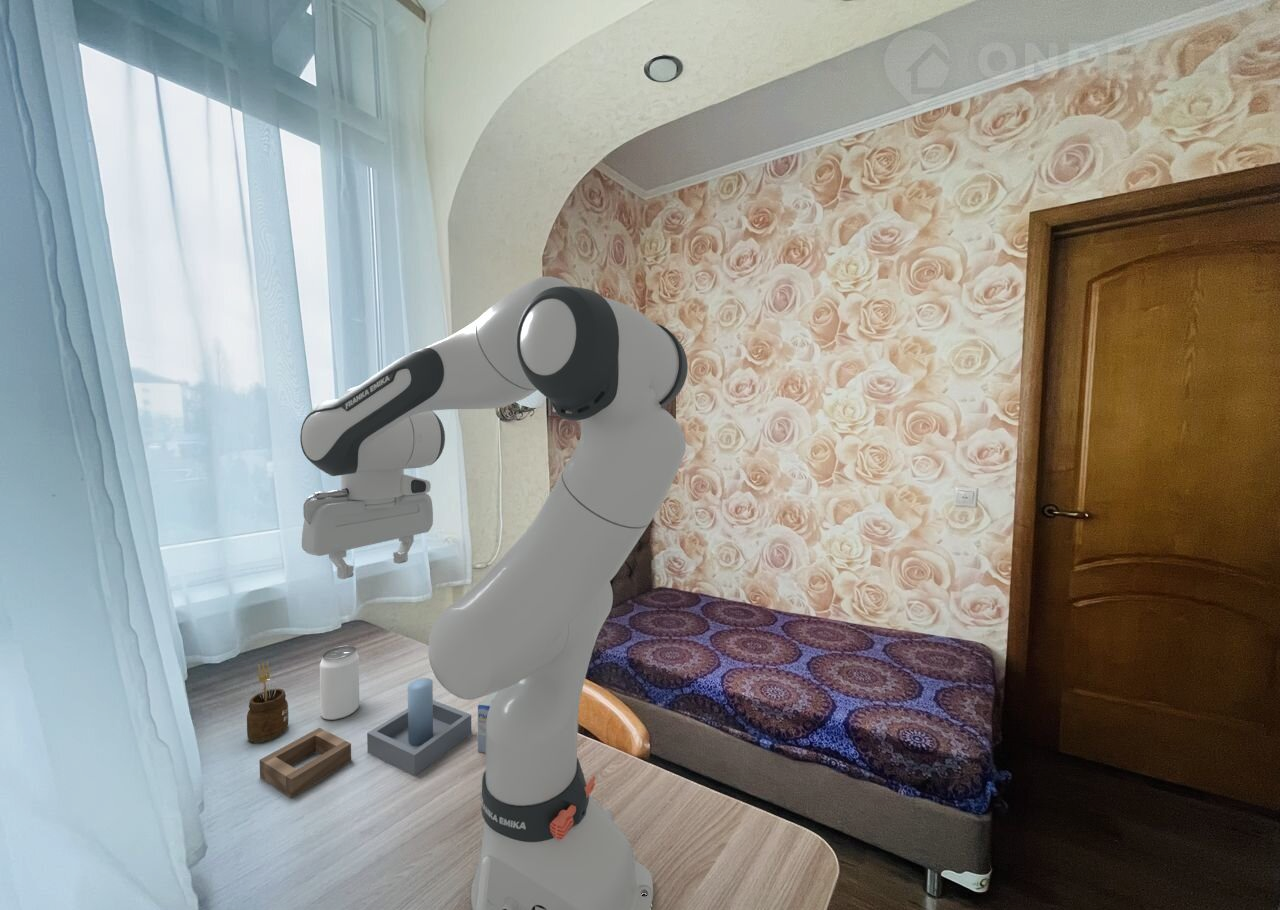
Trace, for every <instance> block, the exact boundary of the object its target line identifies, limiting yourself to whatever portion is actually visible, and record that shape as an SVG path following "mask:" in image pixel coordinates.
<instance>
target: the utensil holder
mask: <svg viewBox="0 0 1280 910" xmlns="http://www.w3.org/2000/svg"><path fill="white" fill-rule="evenodd" d="M265 663H266V667H265ZM265 663H262V664H261V665H260V664H258V665H257V670H258V674H257V675H258V682H259V683H261V685H260V687H259V689H260V692H259V693H257V694H255V695H253V696H252V697H251V698H250V699H249V703H248V708H249V709H248V711H247V715H246V736H247V739H248V741H249V742H250V743H255V744H256V743H264V742H269V741H271V740H273V739H275V738H278V737H279V736H281V735H283V734H284V733H285V732H286V730H287V729H288V728H289V727H288V726H289V703H288V701H287V699H286V698H287V697H286V691H285V690H284V689H282V688H274V687H272V688H271V686H270V684H271V683H268V682H269V681H271V682H272V684H273V686H276V683H275V682H277V680H276V679H274V678H271V677H270V676H271V675H270V667H269V666H270V665H269V662H268V661H267V662H265ZM261 666H262V667H261ZM265 668H266V669H265ZM261 669H262V673H261ZM273 680H274V681H273ZM267 683H268V685H269V689H267ZM262 688H263V691H262Z"/></svg>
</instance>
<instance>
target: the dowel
mask: <svg viewBox="0 0 1280 910" xmlns="http://www.w3.org/2000/svg"><path fill="white" fill-rule="evenodd" d="M433 685H434V683H433V680H432V679H431V678H427V677H422V678H421V677H420V678H418V679H417V678H416V679H414V680H413V681H411V682H410V683H408V685H407V709H408V742H409V744H410V745H412V746H420V745H423V744H424V743H426V742H427V741H428V740H430V739H431V738H432V737H433V700H434V699H433V697H434V695H433V694H434V693H433V692H434V691H433V687H434V686H433Z"/></svg>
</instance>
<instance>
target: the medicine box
mask: <svg viewBox="0 0 1280 910" xmlns="http://www.w3.org/2000/svg"><path fill="white" fill-rule="evenodd" d="M498 692H499V691H497V692H495V693H492V694H489V695H486V696H485V698H484V699H483V700H482V701H481V702H480V703H478V705H477V752H478V753H482V752H484V753H483V754H486V718H487V714H488V711H489V708H490V706H491V704H492V702H493V700H494V698H495V696H496V695H497V693H498Z"/></svg>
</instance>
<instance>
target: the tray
mask: <svg viewBox="0 0 1280 910" xmlns="http://www.w3.org/2000/svg"><path fill="white" fill-rule="evenodd" d="M470 734H472V714H470V713H468V712H466V711H463V710H460V709H457V708H455V707H452V706H449V705H447V704H445V703H442V702H440V701H437V700H434V699H433V737H432V738H431V739H430V740H428V741H427V742H426V743H424V744H423V745H420V746H412V745H410V744H409V742H408V708H406V709H405V710H403V711H402V712H399V713H398V714H396V715H395V716H393V717H391V718H389V719H387V720H386V721H385V722H383V723H381V724H380V725H378V726H377V727H375V728H373V729H371V730H369V731H367V733H366V736H367V737H366V738H367V739H366V741H367V742H366V743H367V745H366V746H367V750H366V751H367V754H370V755H372V756H374V757H375V758H378V759H379V760H382V761H384V762H385V763H388V764H390V765H392V766H394V767H396V768H398V769H400V770H402V771H404V772H406V773H407V774H410V775H412V776H414V777H415V776H416V775H418V774H419V773H421V772H422V771H423V770H424V769H426V768H427V767H429V766H430V765H431V764H433V763H434V762H435V761H437V760H438V759H439V758H440V757H442V756H443V755H444V754H445V753H447V752H448V751H450V750H451V749H452V748H454V747H455V746H456V745H458V744H459V743H460V742H462V741H463V740H464V739H465V738H467V737H468V736H470Z"/></svg>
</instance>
